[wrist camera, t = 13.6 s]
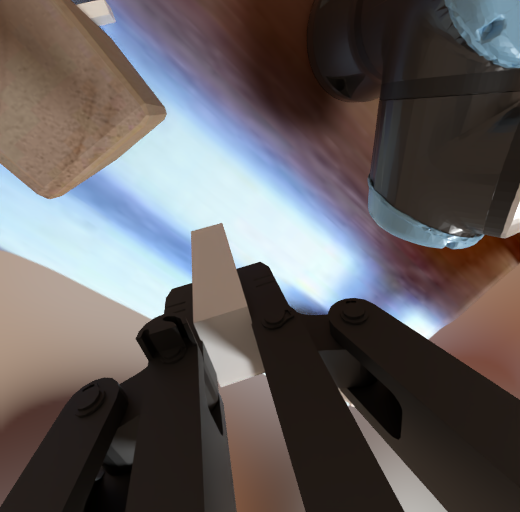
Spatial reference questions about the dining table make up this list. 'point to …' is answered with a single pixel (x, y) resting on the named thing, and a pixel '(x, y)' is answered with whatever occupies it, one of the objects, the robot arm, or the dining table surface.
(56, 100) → the wooden block
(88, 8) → the walled lane
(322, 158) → the dining table surface
